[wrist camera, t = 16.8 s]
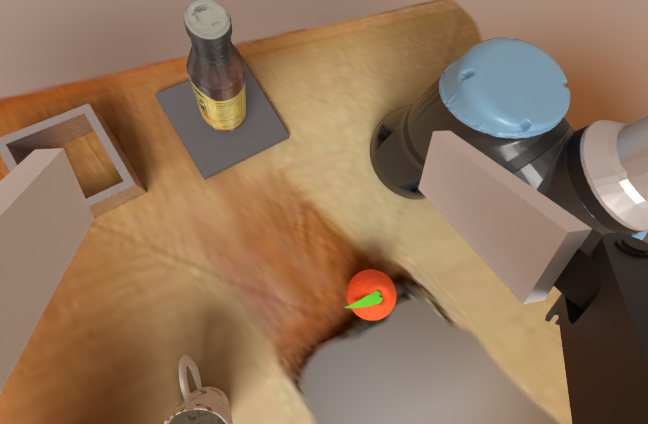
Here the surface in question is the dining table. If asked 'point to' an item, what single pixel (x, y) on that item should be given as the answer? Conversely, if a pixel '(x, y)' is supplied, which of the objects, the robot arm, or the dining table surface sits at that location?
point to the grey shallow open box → (65, 130)
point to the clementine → (371, 294)
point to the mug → (199, 400)
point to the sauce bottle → (215, 66)
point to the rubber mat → (215, 146)
